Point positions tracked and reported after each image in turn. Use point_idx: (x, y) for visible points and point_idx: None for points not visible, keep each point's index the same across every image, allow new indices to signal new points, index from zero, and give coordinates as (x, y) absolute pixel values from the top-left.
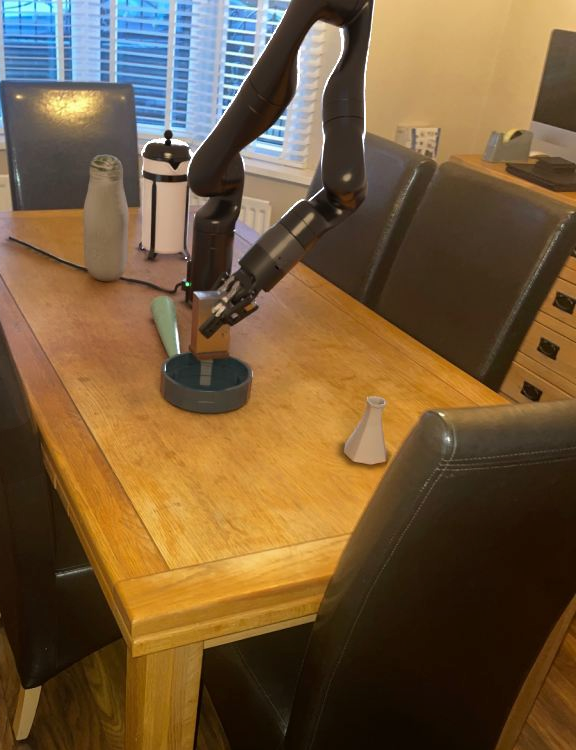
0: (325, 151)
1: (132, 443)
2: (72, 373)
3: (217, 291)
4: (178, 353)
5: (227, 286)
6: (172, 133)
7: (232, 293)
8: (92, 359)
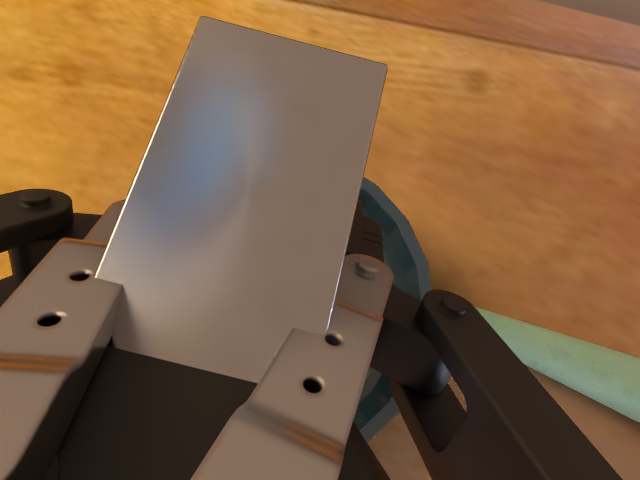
0: None
1: (159, 34)
2: (514, 73)
3: (301, 279)
4: (508, 342)
5: (250, 400)
6: None
7: (2, 316)
8: (575, 144)
